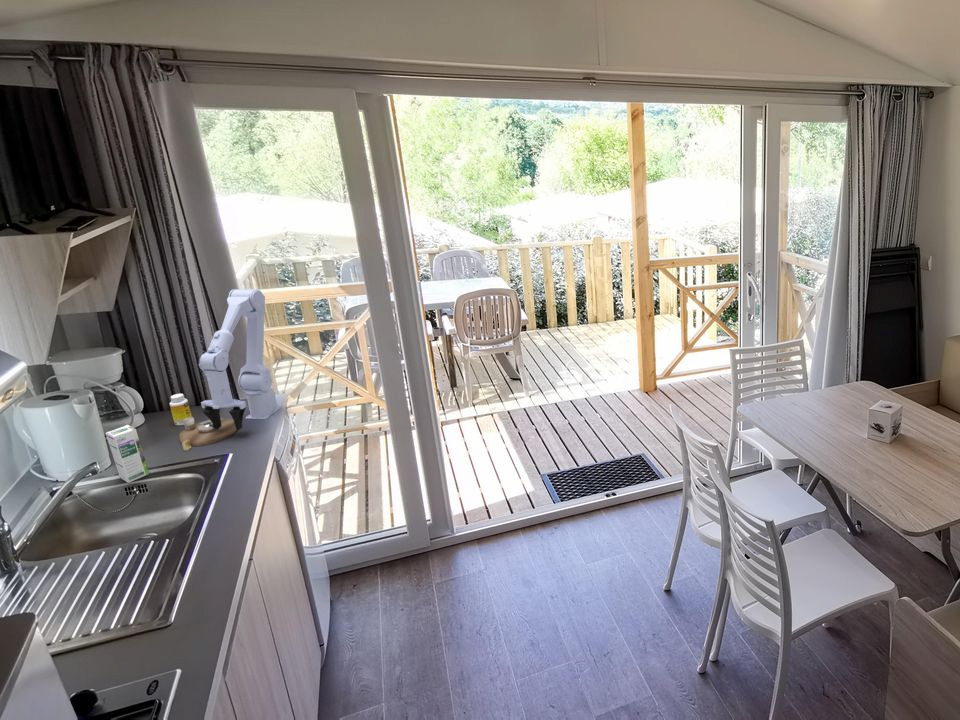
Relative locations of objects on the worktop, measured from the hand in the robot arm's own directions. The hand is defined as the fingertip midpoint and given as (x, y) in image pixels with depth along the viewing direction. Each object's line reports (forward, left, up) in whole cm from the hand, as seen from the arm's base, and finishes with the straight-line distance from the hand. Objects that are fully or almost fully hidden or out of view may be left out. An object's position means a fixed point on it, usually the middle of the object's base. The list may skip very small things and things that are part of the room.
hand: (229, 428), depth 173 cm
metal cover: (0, -7, -1) cm, 8 cm away
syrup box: (+26, -13, -3) cm, 29 cm away
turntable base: (+1, -8, -3) cm, 8 cm away
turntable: (0, -8, -2) cm, 8 cm away
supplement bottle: (-8, -24, -3) cm, 25 cm away
